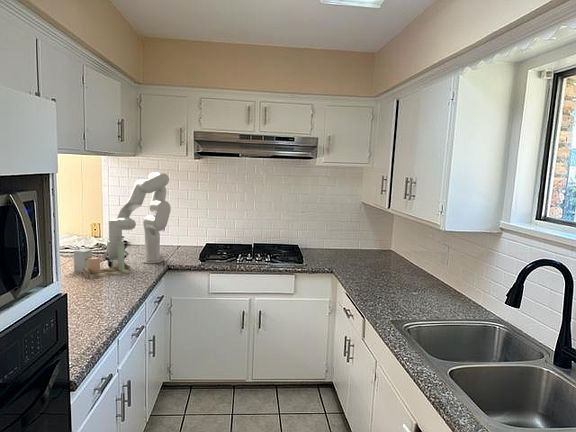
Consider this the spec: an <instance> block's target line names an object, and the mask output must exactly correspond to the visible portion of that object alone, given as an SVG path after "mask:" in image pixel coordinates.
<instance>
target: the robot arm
mask: <svg viewBox="0 0 576 432" xmlns="http://www.w3.org/2000/svg"><path fill="white" fill-rule="evenodd" d="M169 181H170V177H169V176H168V174H166V173H164V172H155V171H154V172H151V173H149V174H148V179H138V180H136V181H135V183H134V186H133V189H132V190H131V193H130V196H129V198H128V201H127V202H126V203H125V204H124V205H123V207H122V208H121V209H120V210H119V212H118V215H117V217H116V218H111V219H109V220H108V240H107V243H106V251H105V252H104V254H102V258H104V259H105V260H106V261H107V266H108V268H112V263H111V259H112V257H118V246H121V247H123V248H124V260H125V259H126V258H127V257H128V256H129V254H130V253H129V252H128V251H126V250H125V243H124V240H123V239H125V236H124V235H123V231H131V230H134V229H135V228H136V226H137V222H136V221H135V220H134V219H133V218H130V217H131V214H132V213H133V212H134V211H136V210H137V209H138V208H140V207H141V206H143V203H144V200H145V198H146V196H147V194H151V193H152V196H151V200H150V204H149V211H150V212H151V213H153V214H148V215H147V216H145V217H144V219H143V229H144V255H145V256H144V259H142V263H143V264H158V263H159V264H160V263H162V262H163V258H164V259H165V258H168V256H167V254H161V249H160V248H161V236H160V235H161V234H160V232H162V231H164V230H165V229H166V227H167V225H168V222H169V218H170V214H171V209H172V208H171V204H170V202H168V201H167V200H166V197H167V188H166V186H167V185H168V184H169Z"/></svg>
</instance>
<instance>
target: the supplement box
mask: <svg viewBox="0 0 576 432" xmlns="http://www.w3.org/2000/svg"><path fill="white" fill-rule="evenodd" d="M91 257H93V249H92V248H91V249H89V248H80V249H76V250H73V272H79V273H83V267H85V268H87V269H88V258H91Z"/></svg>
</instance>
